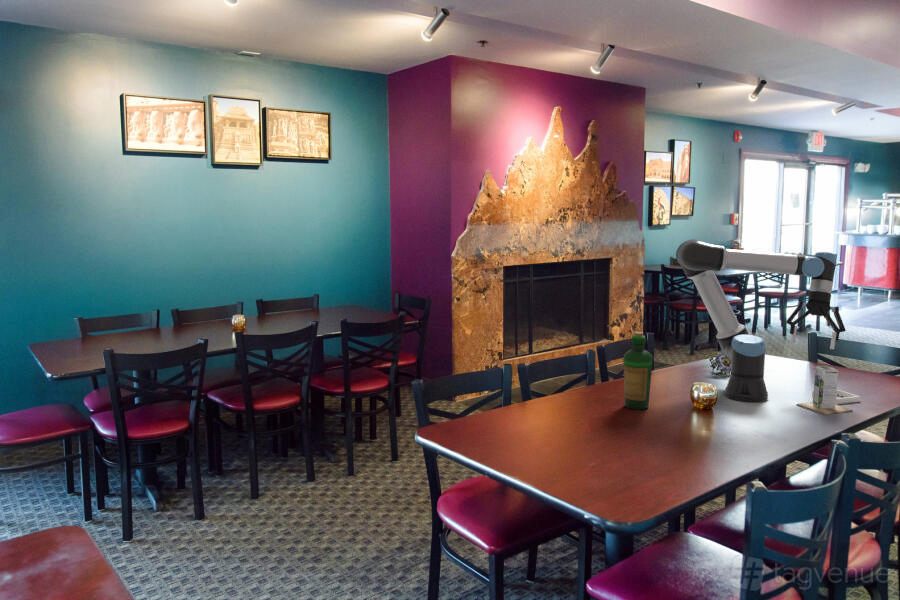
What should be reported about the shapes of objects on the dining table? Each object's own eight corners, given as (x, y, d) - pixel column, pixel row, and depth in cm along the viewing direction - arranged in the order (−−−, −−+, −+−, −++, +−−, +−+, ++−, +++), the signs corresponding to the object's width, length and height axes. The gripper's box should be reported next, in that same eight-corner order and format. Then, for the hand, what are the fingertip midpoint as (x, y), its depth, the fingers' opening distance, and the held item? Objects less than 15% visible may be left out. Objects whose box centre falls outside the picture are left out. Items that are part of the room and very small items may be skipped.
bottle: (615, 405, 239) (617, 331, 235) (637, 401, 244) (639, 329, 240) (636, 412, 230) (638, 336, 226) (657, 408, 234) (660, 333, 231)
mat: (823, 415, 225) (823, 413, 225) (796, 405, 236) (796, 403, 236) (852, 411, 228) (852, 409, 228) (824, 402, 240) (824, 400, 240)
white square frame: (836, 404, 237) (837, 399, 237) (812, 396, 247) (812, 391, 247) (860, 401, 240) (860, 396, 240) (834, 393, 250) (835, 388, 250)
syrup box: (811, 404, 235) (814, 365, 233) (828, 404, 235) (831, 366, 233) (818, 408, 230) (821, 369, 228) (836, 409, 229) (839, 369, 227)
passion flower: (726, 387, 280) (722, 369, 274) (704, 378, 289) (700, 360, 282) (741, 371, 284) (737, 352, 277) (719, 362, 292) (715, 344, 286)
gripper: (853, 298, 248) (845, 352, 247) (783, 288, 256) (775, 340, 254) (859, 295, 241) (851, 351, 240) (787, 286, 249) (778, 339, 247)
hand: (812, 345), depth 247 cm, fingers open, 13 cm apart
